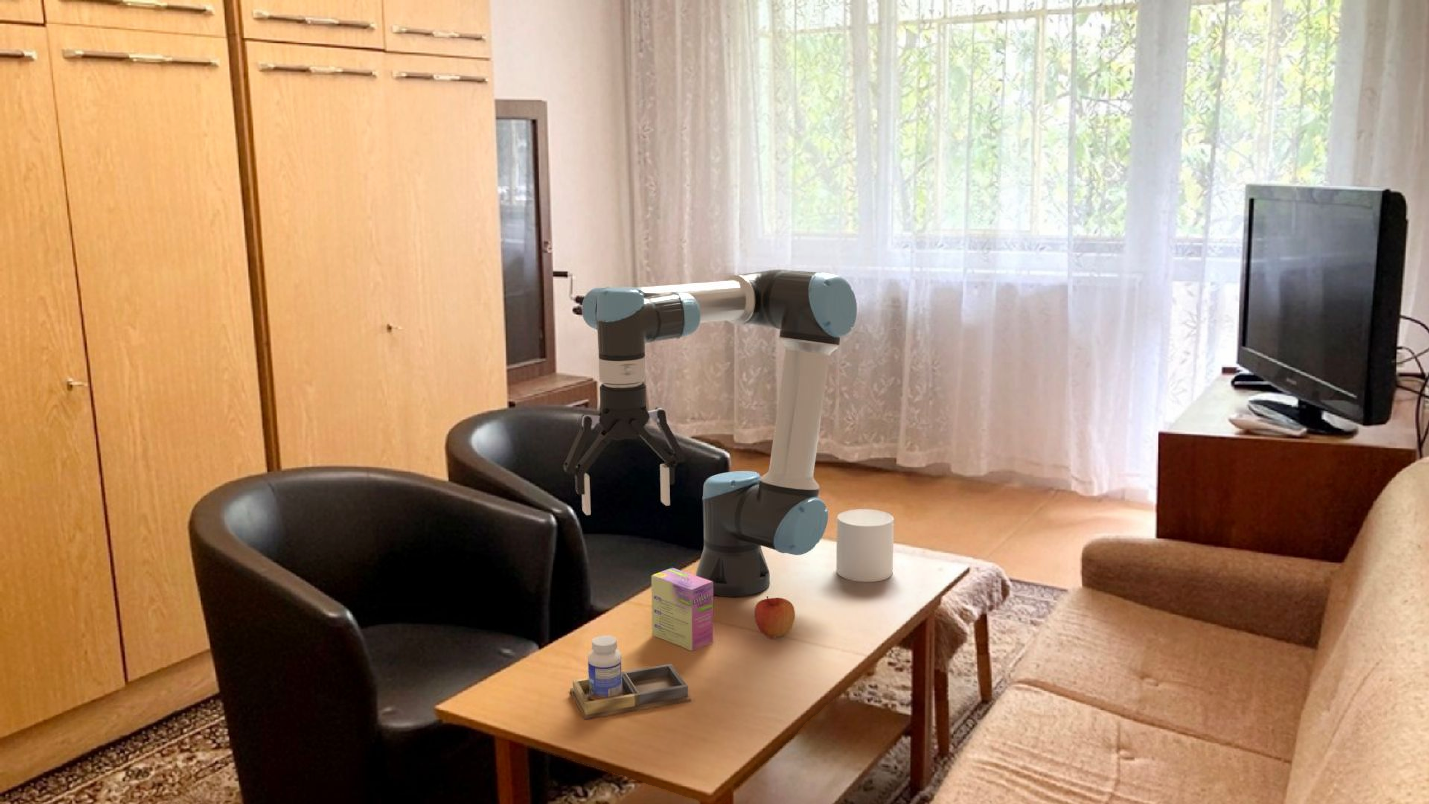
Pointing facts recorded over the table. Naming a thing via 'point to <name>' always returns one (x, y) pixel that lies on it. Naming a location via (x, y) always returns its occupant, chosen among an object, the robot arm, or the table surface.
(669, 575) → the box
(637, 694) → the two-compartment tray
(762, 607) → the apple
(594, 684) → the pill bottle
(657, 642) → the table surface
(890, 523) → the cup
